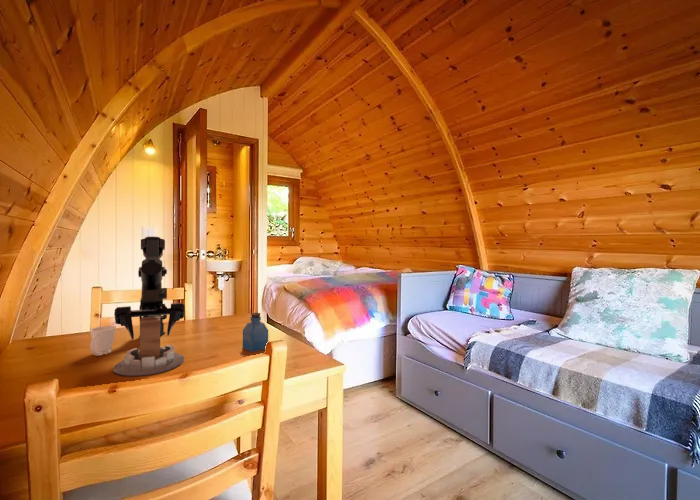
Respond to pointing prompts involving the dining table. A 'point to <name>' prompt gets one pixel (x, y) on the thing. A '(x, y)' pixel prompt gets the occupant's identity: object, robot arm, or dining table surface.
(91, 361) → the dining table surface
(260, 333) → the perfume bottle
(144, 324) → the walnut block
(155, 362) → the castellated ring
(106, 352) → the cup
